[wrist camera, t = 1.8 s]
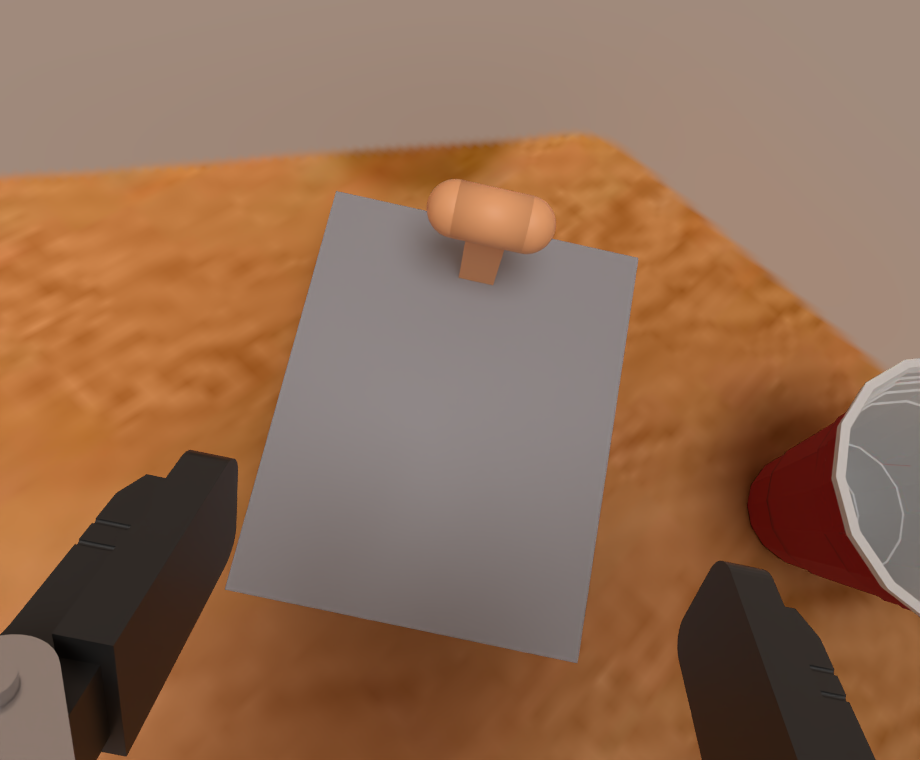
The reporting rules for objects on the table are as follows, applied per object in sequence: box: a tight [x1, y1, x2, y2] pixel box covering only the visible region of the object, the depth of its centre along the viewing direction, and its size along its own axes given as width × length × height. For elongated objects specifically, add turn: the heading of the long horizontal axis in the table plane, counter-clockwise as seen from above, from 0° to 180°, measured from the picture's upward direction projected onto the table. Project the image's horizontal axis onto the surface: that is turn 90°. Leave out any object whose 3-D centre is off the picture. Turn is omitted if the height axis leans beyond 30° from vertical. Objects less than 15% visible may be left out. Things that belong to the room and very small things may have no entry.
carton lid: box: [225, 179, 638, 663], centre depth 26 cm, size 18×14×7 cm
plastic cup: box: [747, 359, 920, 617], centre depth 30 cm, size 11×11×12 cm
